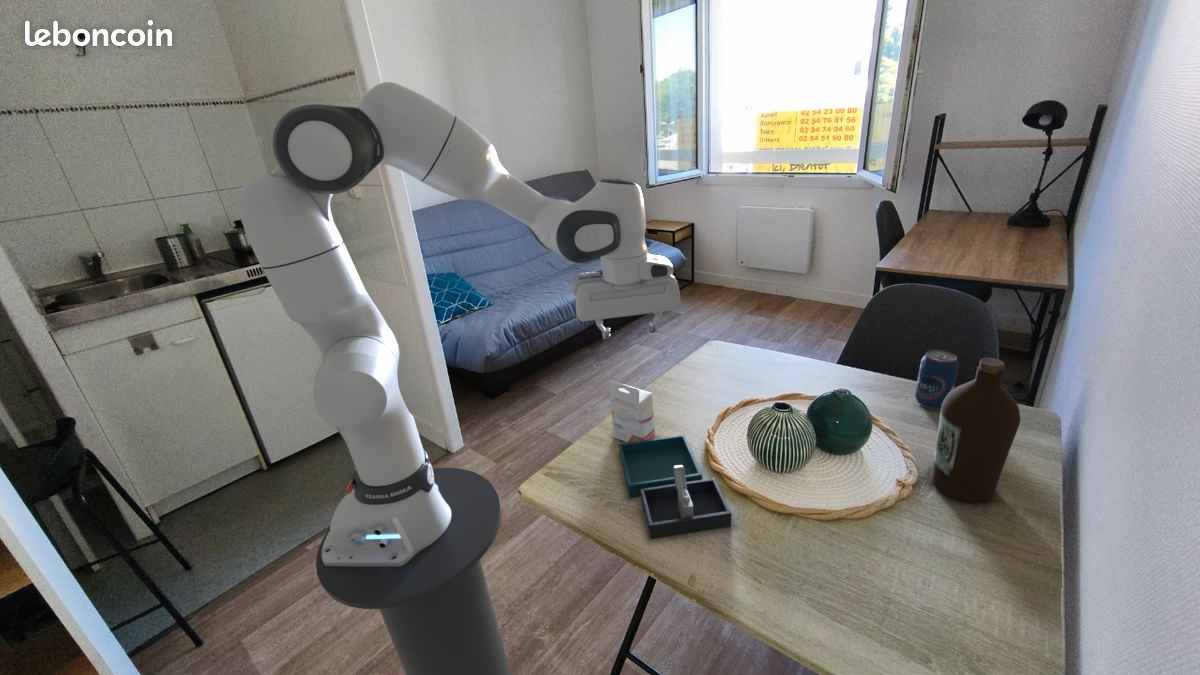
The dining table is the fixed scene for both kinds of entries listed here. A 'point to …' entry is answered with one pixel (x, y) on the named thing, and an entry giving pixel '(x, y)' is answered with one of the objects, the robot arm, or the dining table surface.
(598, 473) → the dining table surface
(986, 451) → the brown bottle
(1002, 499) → the dining table surface
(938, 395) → the soda can
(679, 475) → the lighter
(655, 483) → the back tray
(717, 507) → the front tray
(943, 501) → the dining table surface
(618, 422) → the ink cartridge box
